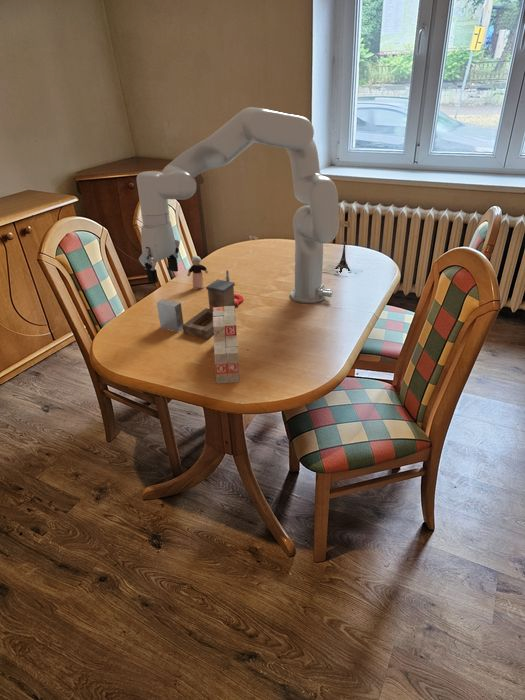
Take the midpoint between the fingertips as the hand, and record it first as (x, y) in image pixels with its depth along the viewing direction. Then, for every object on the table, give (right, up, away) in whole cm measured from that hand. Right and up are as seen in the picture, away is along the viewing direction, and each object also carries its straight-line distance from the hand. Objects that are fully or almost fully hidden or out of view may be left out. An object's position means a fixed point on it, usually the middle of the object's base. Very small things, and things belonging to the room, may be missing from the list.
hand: (163, 276), depth 137 cm
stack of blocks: (+20, -26, -8) cm, 33 cm away
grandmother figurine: (+6, +1, +36) cm, 37 cm away
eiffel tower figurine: (+61, +9, +47) cm, 78 cm away
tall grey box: (+1, -15, +9) cm, 18 cm away
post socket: (+13, -13, +11) cm, 22 cm away
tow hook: (+19, -5, +26) cm, 32 cm away
